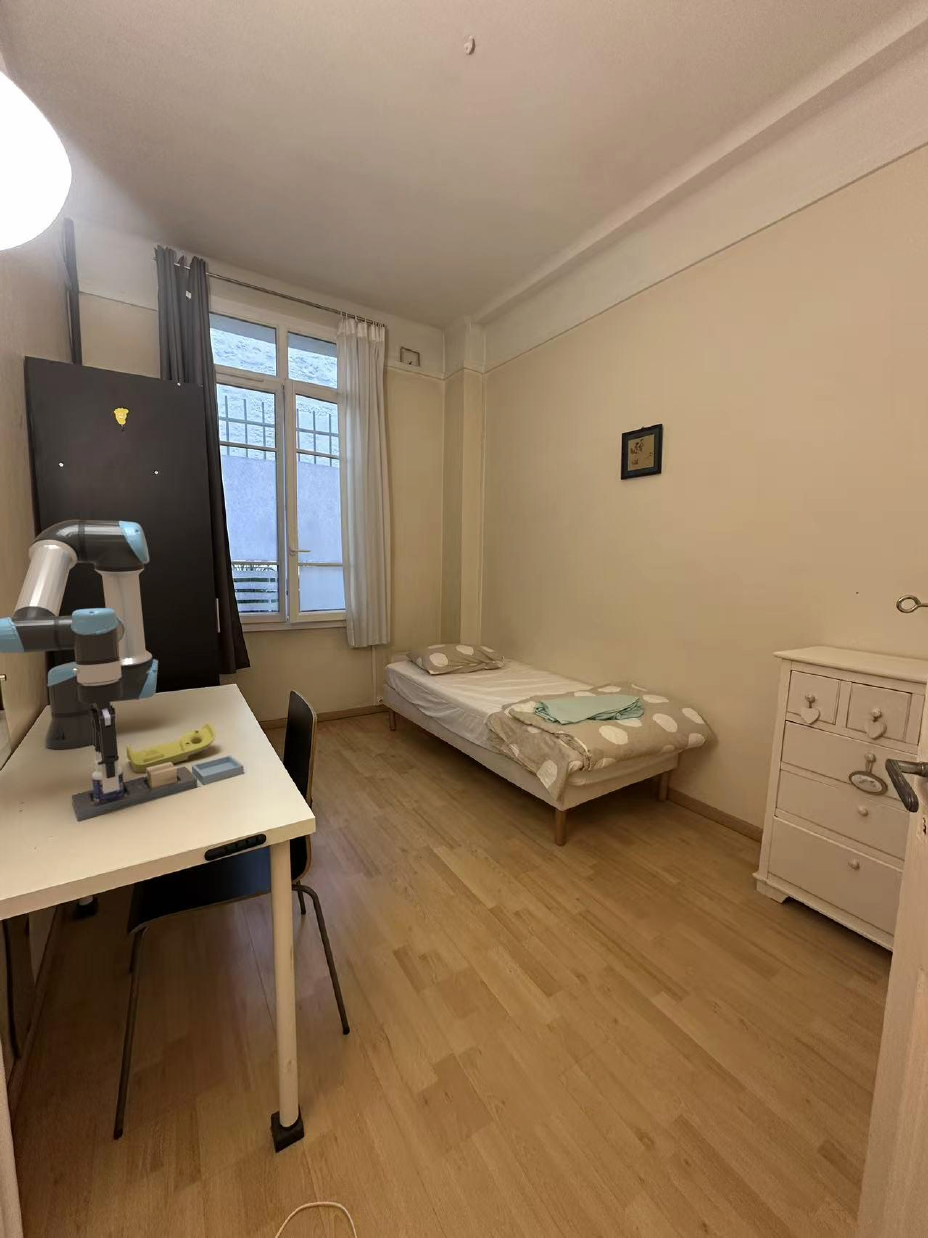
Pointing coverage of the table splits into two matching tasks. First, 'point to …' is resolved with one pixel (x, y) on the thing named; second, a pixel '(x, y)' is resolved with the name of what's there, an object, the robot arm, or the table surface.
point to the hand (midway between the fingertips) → (108, 785)
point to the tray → (217, 769)
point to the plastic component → (172, 749)
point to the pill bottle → (98, 785)
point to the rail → (131, 795)
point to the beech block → (161, 775)
